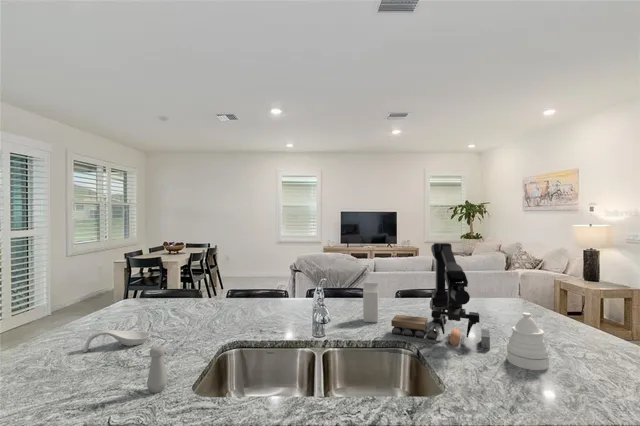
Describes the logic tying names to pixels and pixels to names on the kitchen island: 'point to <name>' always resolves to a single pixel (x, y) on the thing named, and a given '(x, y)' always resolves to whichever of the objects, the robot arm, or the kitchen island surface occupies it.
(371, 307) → the milk carton
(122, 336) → the spoon rest
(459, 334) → the roller
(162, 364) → the salt shaker
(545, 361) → the honey pot
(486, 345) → the block
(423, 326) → the slab
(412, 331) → the track
